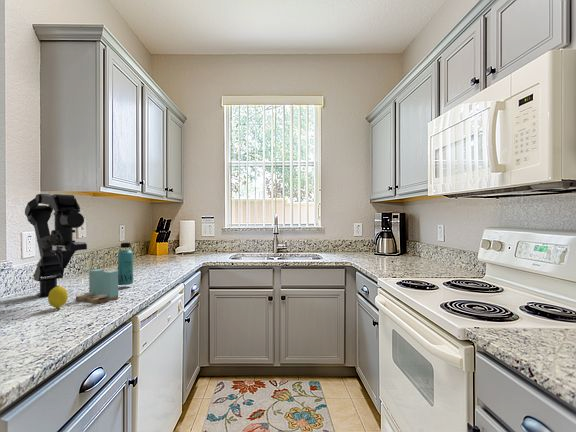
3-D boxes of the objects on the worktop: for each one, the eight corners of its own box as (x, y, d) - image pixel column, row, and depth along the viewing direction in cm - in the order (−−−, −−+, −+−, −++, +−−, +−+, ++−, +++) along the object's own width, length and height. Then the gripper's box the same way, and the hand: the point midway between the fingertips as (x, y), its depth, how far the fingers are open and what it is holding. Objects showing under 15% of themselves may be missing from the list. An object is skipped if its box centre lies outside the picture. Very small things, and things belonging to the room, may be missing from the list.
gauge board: (75, 299, 126) (75, 296, 126) (94, 295, 133) (94, 292, 133) (100, 303, 121) (100, 299, 121) (118, 298, 128) (118, 295, 128)
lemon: (57, 311, 111) (57, 287, 111) (43, 310, 112) (44, 286, 112) (71, 307, 116) (71, 284, 116) (58, 306, 117) (58, 283, 117)
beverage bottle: (113, 287, 147) (113, 242, 147) (126, 285, 153) (126, 241, 153) (124, 289, 144) (124, 243, 144) (136, 286, 150) (136, 242, 150)
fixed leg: (96, 298, 123) (96, 273, 123) (111, 294, 129) (111, 270, 129) (102, 299, 122) (102, 273, 122) (118, 295, 128) (118, 271, 128)
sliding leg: (81, 296, 126) (81, 271, 126) (97, 292, 132) (97, 269, 132) (87, 297, 125) (88, 272, 125) (103, 293, 131) (103, 269, 131)
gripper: (25, 227, 123) (25, 269, 123) (57, 228, 115) (57, 273, 115) (56, 226, 133) (56, 265, 133) (88, 227, 125) (87, 268, 125)
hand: (63, 268), depth 126 cm, fingers closed
